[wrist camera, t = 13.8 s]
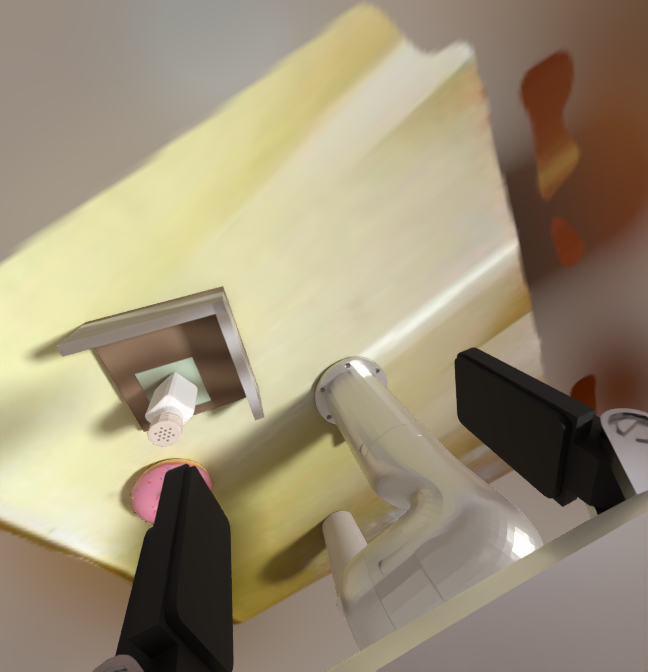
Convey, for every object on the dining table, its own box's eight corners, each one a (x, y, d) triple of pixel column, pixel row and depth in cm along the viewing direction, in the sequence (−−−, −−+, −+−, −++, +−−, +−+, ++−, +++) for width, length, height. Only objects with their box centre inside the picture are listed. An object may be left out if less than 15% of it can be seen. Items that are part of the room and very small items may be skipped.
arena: (258, 388, 45) (264, 417, 39) (146, 426, 42) (132, 464, 35) (222, 286, 38) (222, 300, 32) (86, 322, 35) (55, 345, 29)
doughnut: (224, 487, 50) (224, 509, 46) (158, 519, 48) (153, 544, 44) (192, 441, 45) (190, 461, 41) (118, 474, 43) (109, 498, 40)
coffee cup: (329, 546, 63) (357, 634, 50) (305, 525, 59) (330, 616, 45) (366, 519, 64) (403, 599, 50) (345, 497, 59) (381, 578, 46)
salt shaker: (178, 406, 41) (167, 456, 32) (152, 390, 39) (133, 438, 30) (199, 386, 41) (193, 430, 32) (174, 369, 39) (161, 411, 30)
